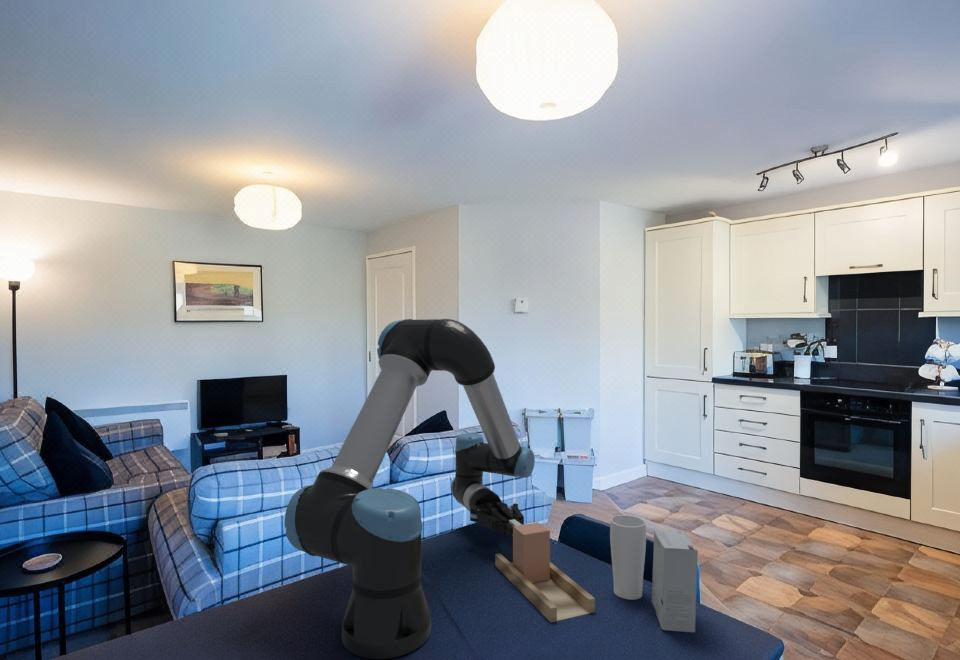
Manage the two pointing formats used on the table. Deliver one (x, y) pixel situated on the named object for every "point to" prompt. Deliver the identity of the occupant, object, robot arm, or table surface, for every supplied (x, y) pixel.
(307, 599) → the table surface
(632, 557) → the drinking glass
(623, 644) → the table surface
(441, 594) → the table surface
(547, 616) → the shallow wooden tray
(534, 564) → the terracotta block
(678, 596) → the skincare box
